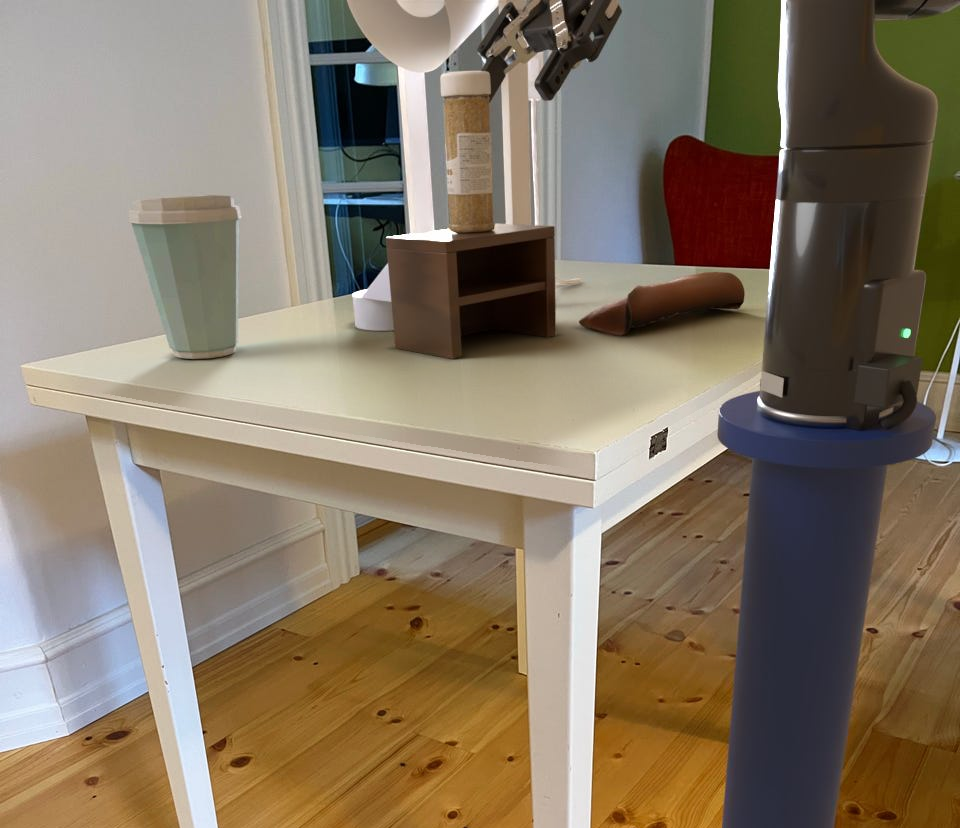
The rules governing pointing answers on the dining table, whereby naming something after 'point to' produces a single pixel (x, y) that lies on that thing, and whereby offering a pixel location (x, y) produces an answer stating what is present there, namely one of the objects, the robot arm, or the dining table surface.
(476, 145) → the sprinkles bottle
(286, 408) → the dining table surface
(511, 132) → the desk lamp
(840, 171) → the robot arm
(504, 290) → the shelf
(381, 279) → the wedge on round base
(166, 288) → the disposable coffee cup
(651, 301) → the sunglasses case
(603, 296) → the dining table surface
